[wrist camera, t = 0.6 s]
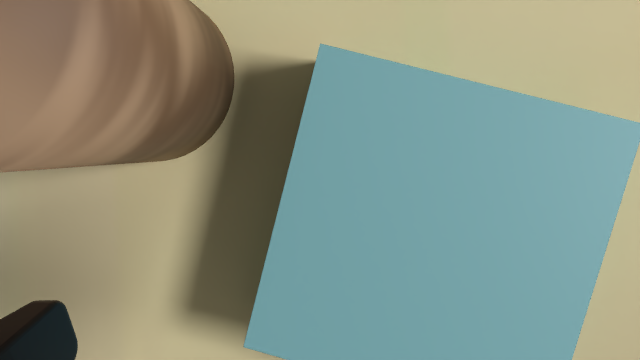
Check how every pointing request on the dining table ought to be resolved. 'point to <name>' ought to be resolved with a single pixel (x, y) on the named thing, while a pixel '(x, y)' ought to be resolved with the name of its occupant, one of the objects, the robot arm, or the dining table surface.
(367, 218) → the base block
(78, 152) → the brown vase
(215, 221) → the dining table surface
